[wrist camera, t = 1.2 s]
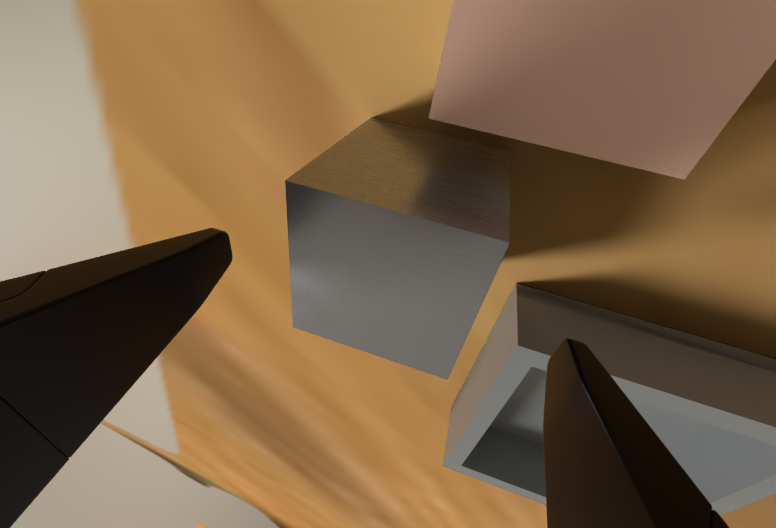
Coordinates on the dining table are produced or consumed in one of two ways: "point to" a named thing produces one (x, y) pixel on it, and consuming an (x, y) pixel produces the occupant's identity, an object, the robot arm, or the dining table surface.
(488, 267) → the metal box
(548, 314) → the tote
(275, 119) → the dining table surface
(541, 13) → the pinkish brown block
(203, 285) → the robot arm
